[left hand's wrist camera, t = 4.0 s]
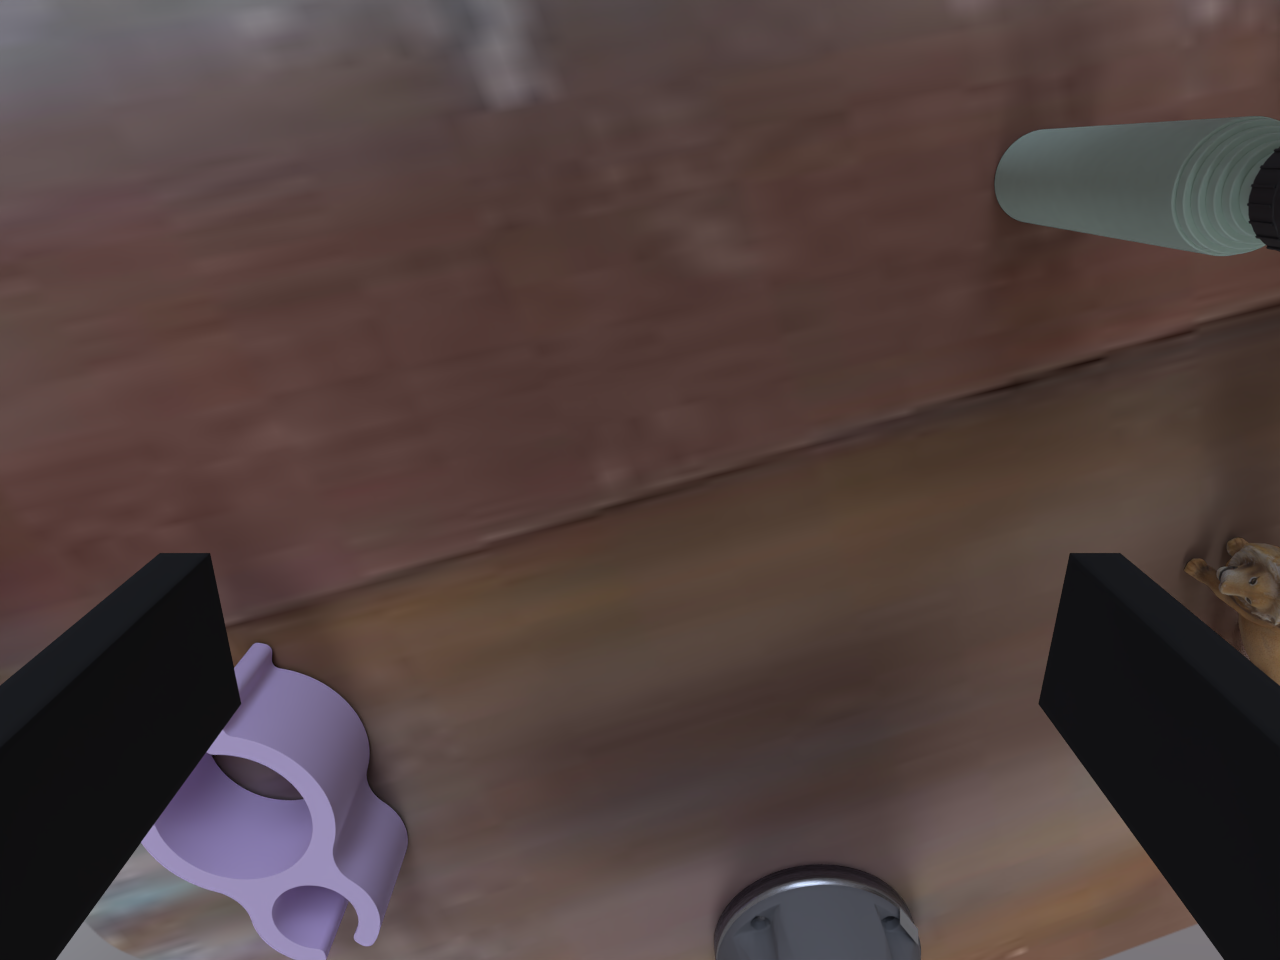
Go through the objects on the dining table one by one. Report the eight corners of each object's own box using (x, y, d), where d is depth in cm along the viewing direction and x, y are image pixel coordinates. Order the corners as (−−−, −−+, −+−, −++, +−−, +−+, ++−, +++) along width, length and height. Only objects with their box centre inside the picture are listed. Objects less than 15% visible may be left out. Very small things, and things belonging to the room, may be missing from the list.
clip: (450, 842, 60) (427, 924, 54) (306, 898, 62) (267, 983, 56) (292, 626, 54) (245, 690, 47) (137, 696, 56) (71, 767, 49)
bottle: (979, 162, 44) (1235, 168, 25) (1063, 110, 43) (1393, 76, 24) (1015, 239, 45) (1282, 300, 26) (1096, 191, 44) (1433, 217, 26)
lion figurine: (1146, 522, 51) (1245, 595, 43) (1233, 486, 50) (1352, 552, 42) (1203, 700, 56) (1302, 796, 48) (1284, 670, 55) (1399, 762, 47)
